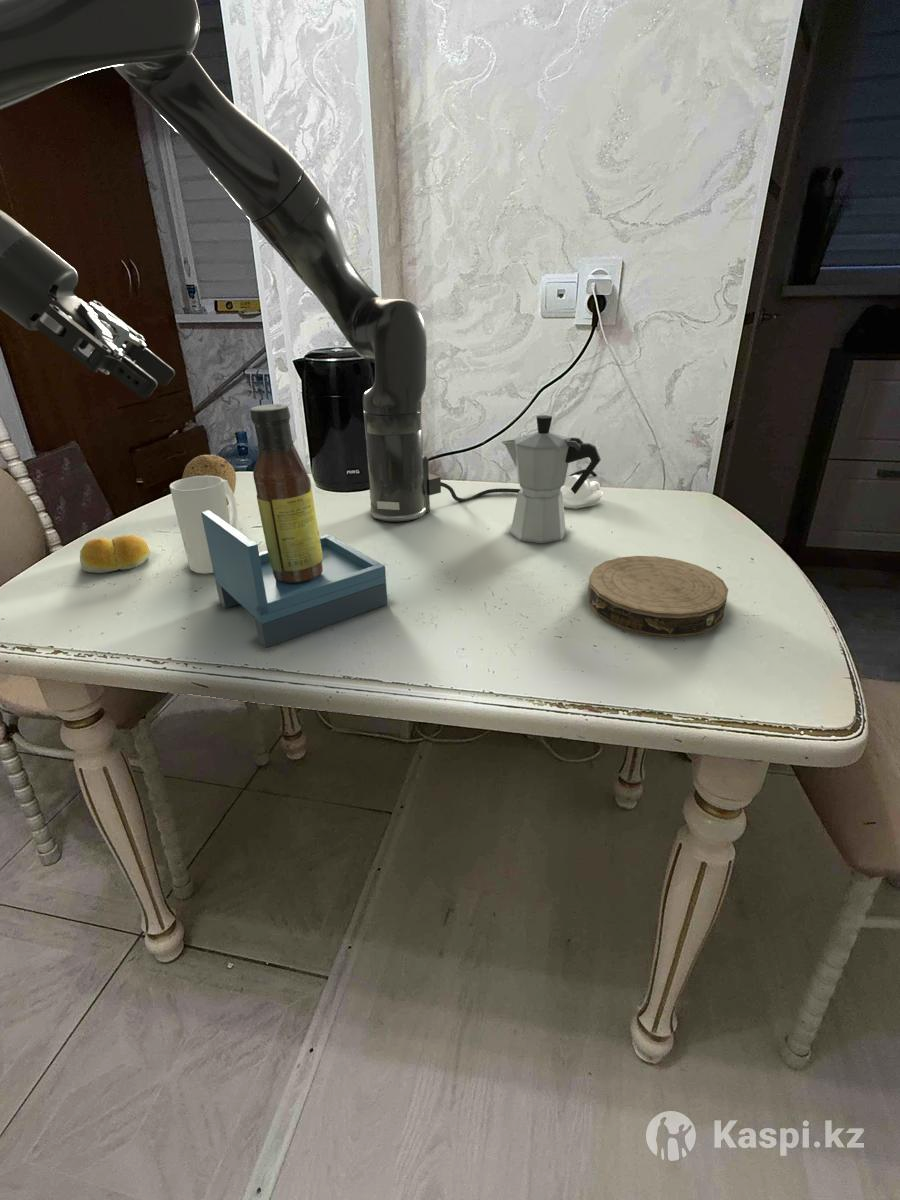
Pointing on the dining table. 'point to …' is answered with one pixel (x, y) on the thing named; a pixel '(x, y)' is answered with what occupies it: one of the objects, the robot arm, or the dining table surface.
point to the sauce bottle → (285, 499)
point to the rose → (580, 493)
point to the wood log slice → (657, 596)
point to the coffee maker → (545, 480)
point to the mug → (190, 503)
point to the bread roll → (113, 554)
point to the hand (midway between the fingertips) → (162, 385)
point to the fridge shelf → (291, 584)
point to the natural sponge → (211, 469)
